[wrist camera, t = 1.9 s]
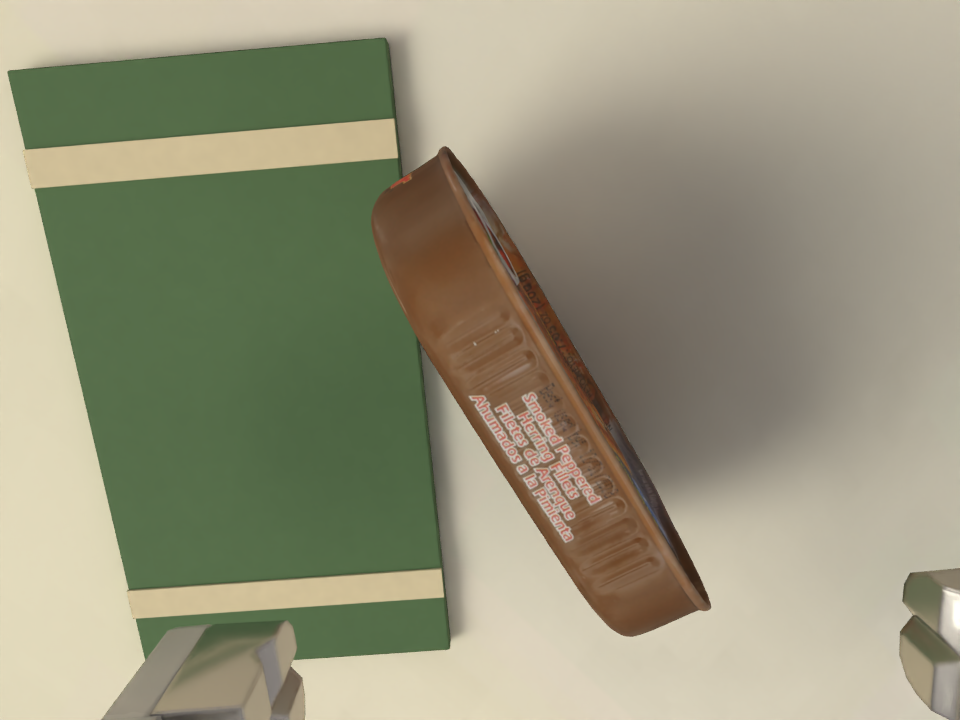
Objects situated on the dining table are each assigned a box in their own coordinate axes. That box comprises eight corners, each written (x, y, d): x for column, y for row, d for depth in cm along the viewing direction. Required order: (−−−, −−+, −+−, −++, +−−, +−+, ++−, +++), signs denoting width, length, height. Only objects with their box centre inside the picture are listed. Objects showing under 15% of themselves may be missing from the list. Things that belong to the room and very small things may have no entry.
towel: (388, 41, 20) (385, 35, 19) (450, 639, 25) (449, 652, 24) (19, 74, 20) (3, 69, 20) (154, 659, 25) (145, 672, 25)
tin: (669, 510, 24) (769, 668, 15) (596, 549, 24) (655, 723, 16) (462, 153, 21) (450, 114, 13) (382, 203, 21) (320, 198, 13)
